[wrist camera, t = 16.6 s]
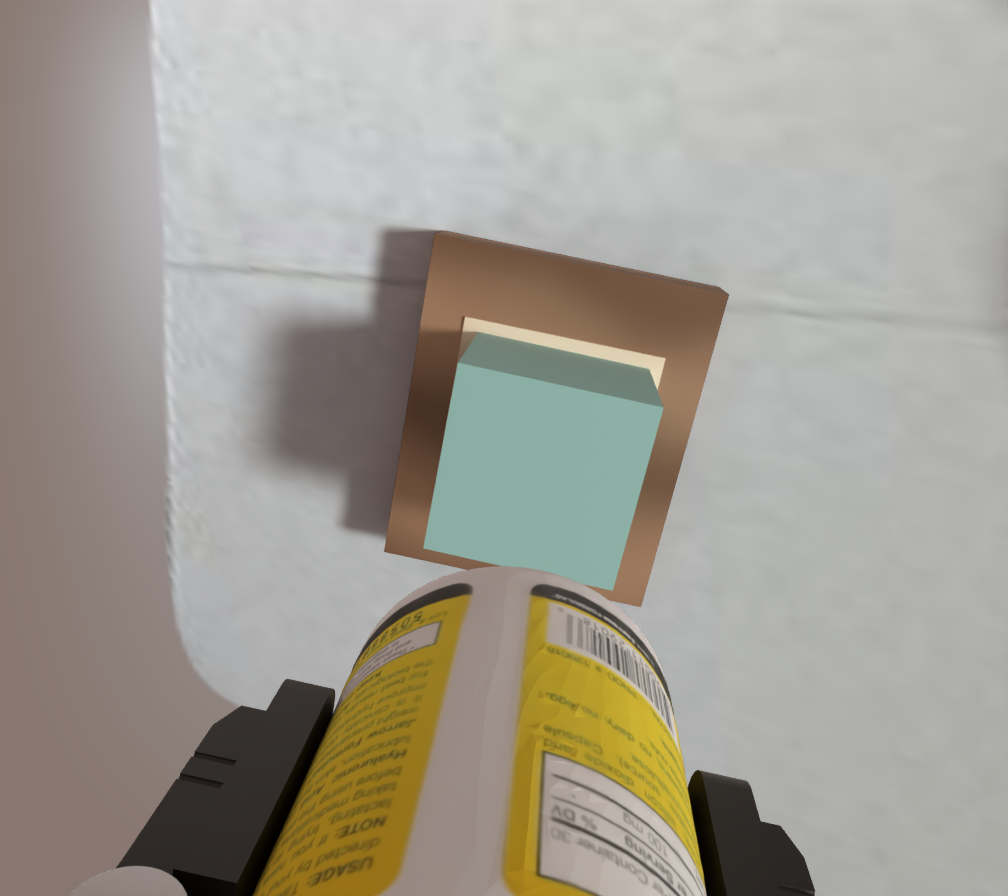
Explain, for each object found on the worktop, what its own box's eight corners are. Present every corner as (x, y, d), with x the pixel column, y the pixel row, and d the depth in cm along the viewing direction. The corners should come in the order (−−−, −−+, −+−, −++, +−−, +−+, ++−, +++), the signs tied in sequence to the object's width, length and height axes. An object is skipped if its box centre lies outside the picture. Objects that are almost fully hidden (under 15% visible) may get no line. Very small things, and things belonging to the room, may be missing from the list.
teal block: (478, 331, 28) (457, 362, 23) (649, 368, 28) (663, 407, 23) (448, 490, 30) (422, 548, 25) (607, 525, 30) (612, 590, 25)
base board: (444, 230, 29) (434, 234, 27) (719, 287, 29) (729, 294, 27) (395, 530, 33) (383, 552, 31) (637, 582, 33) (641, 608, 31)
